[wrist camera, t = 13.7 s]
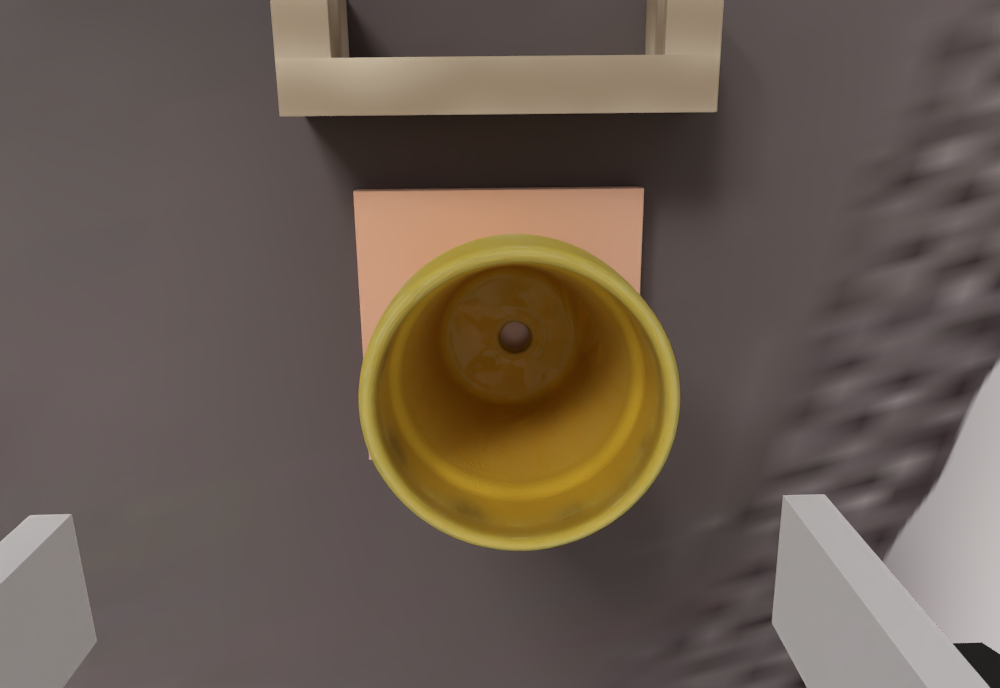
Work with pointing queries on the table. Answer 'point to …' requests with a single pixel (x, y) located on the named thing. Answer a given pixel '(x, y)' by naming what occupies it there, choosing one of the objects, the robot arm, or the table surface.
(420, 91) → the flower pot holder
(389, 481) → the plant pot
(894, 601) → the robot arm
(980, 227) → the table surface
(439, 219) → the tile
